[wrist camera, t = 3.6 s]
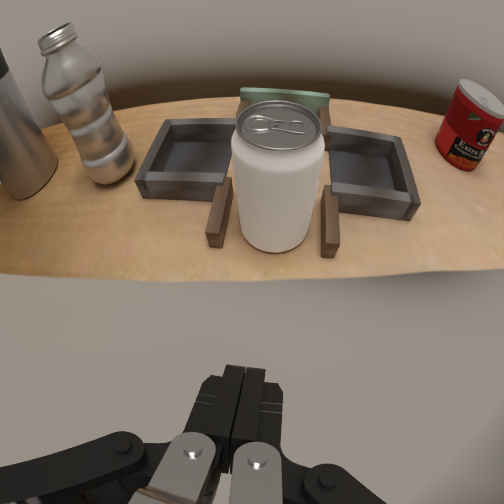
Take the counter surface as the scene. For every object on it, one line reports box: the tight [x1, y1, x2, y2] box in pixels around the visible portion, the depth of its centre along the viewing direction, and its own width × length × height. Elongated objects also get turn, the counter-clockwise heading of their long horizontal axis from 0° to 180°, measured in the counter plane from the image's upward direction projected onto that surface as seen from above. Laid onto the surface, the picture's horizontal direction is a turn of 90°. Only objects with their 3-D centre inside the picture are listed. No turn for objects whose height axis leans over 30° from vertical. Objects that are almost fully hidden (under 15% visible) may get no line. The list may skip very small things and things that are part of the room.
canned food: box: [436, 79, 504, 171], centre depth 29 cm, size 8×8×11 cm
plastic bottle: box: [38, 22, 134, 184], centre depth 24 cm, size 6×7×20 cm
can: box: [231, 100, 325, 252], centre depth 23 cm, size 6×6×12 cm
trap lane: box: [134, 88, 421, 258], centre depth 30 cm, size 29×22×4 cm
